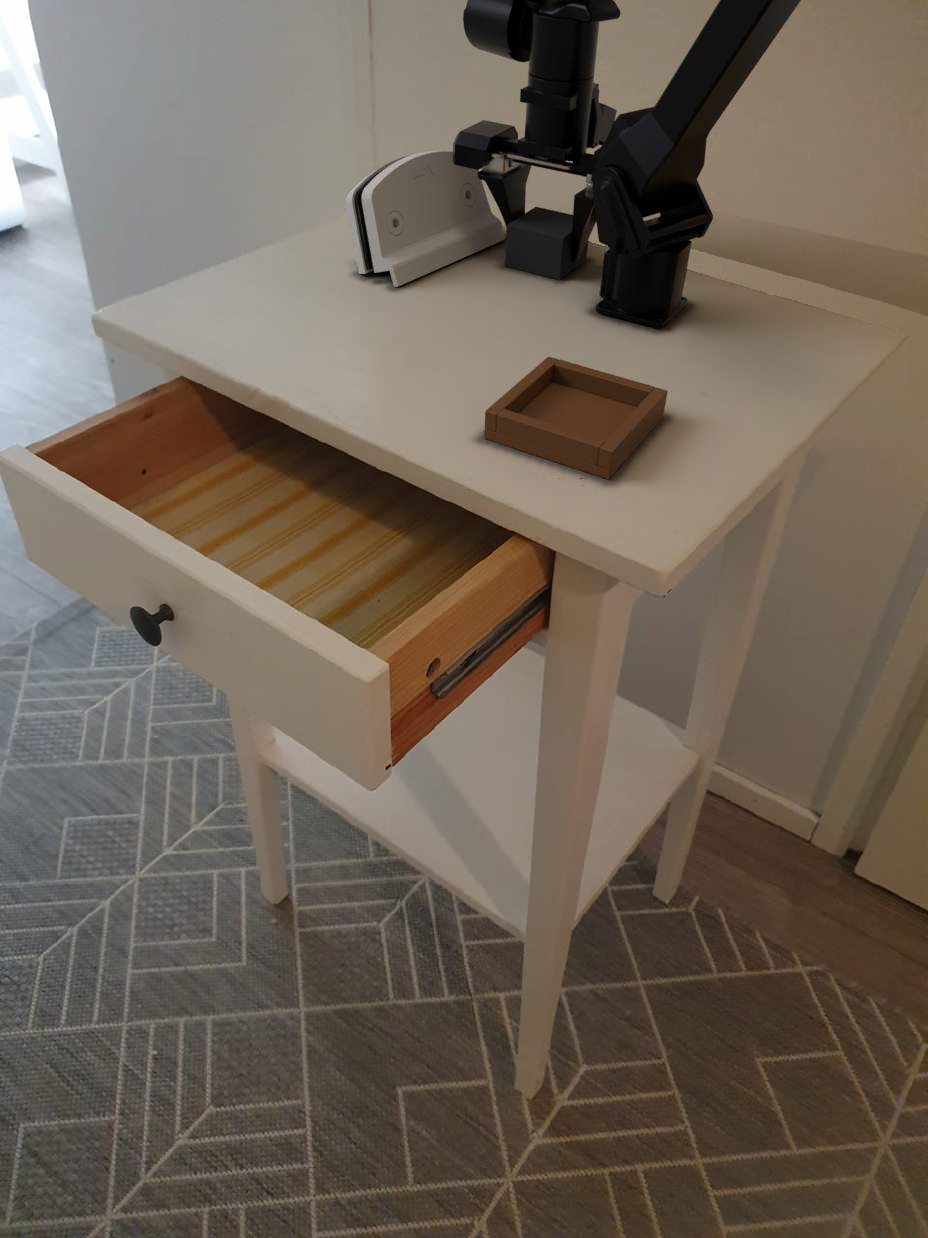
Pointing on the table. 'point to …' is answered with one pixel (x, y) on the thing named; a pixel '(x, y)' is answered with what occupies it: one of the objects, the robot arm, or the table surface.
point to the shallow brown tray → (575, 416)
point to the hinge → (419, 216)
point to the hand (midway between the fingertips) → (546, 252)
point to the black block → (542, 243)
